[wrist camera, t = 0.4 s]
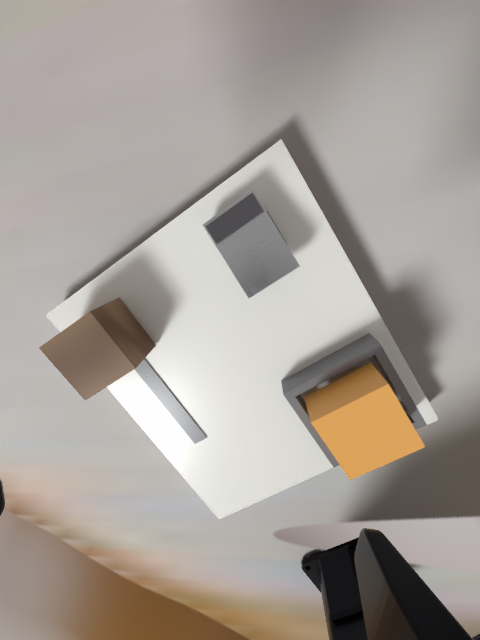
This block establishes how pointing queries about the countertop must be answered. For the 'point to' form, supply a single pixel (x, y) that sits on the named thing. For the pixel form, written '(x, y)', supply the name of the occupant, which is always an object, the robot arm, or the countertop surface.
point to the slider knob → (99, 348)
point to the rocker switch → (251, 244)
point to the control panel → (245, 342)
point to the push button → (362, 422)
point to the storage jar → (476, 637)
